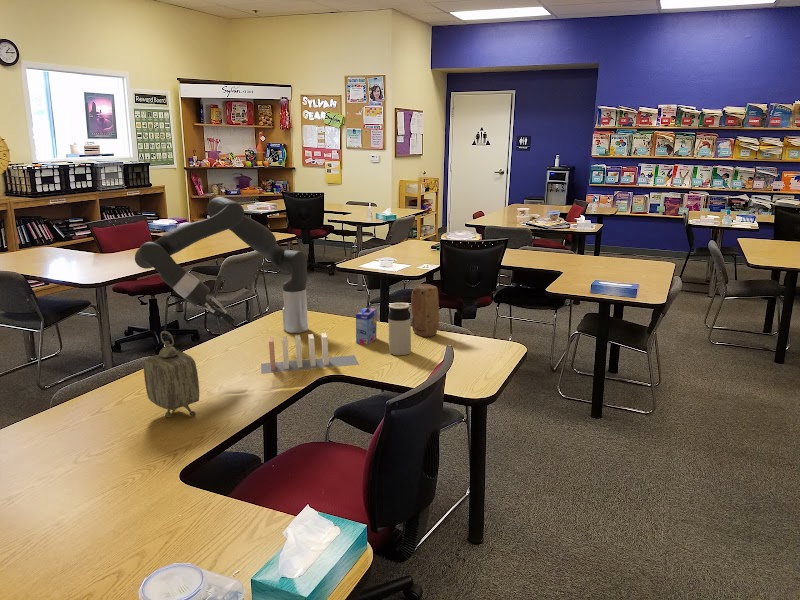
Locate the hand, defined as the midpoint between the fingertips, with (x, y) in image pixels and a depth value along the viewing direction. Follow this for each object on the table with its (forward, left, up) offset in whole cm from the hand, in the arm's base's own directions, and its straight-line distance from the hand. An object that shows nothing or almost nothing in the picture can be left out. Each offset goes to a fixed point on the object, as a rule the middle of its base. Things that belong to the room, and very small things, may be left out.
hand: (233, 322), depth 207 cm
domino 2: (+12, +11, -17) cm, 24 cm away
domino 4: (+19, +17, -17) cm, 31 cm away
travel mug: (+40, +42, -18) cm, 60 cm away
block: (+38, +66, -18) cm, 78 cm away
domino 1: (+9, +8, -17) cm, 21 cm away
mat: (+18, +16, -18) cm, 30 cm away
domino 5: (+22, +20, -17) cm, 34 cm away
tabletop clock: (+8, -34, -18) cm, 39 cm away
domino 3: (+15, +14, -17) cm, 27 cm away
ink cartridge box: (+22, +48, -18) cm, 56 cm away
